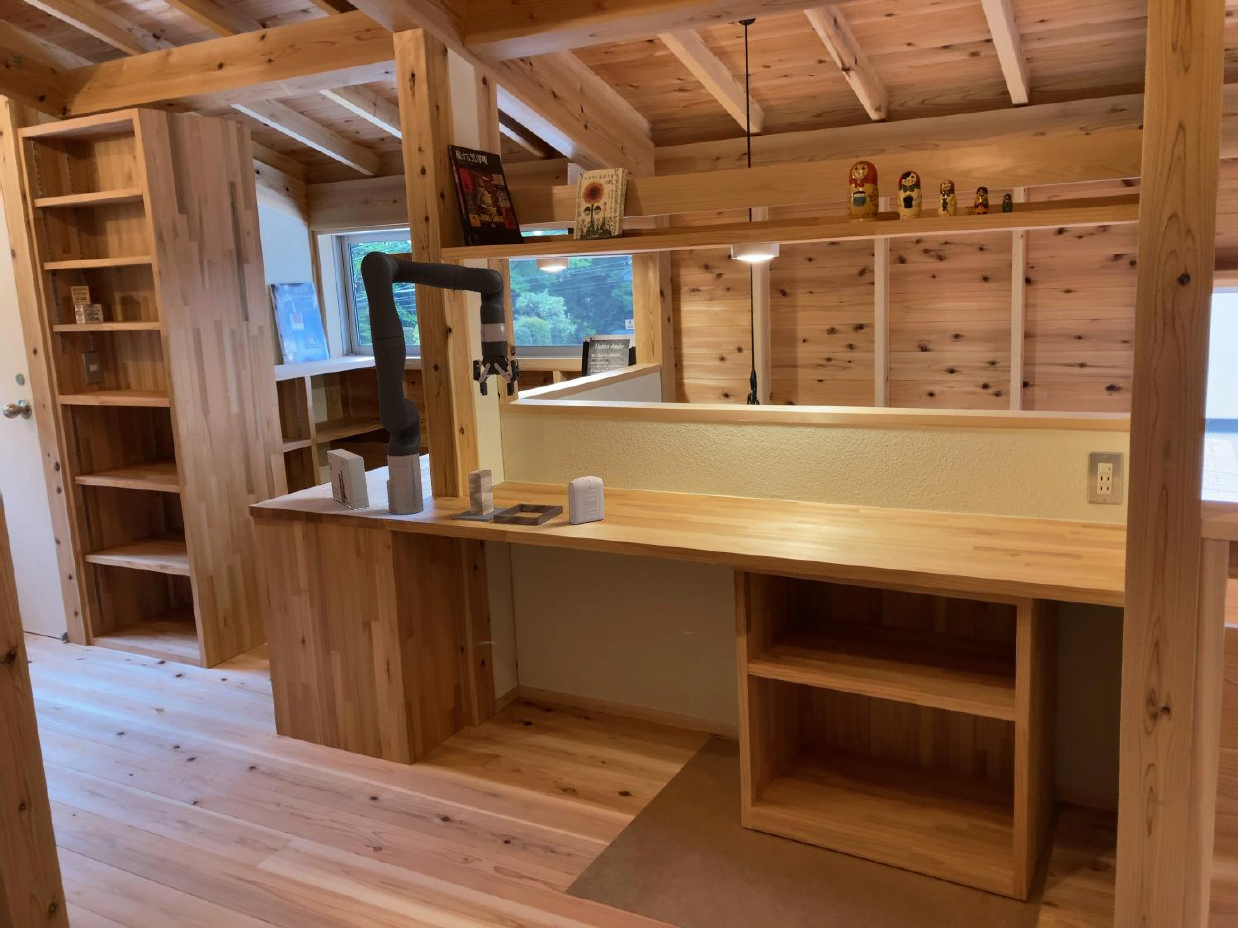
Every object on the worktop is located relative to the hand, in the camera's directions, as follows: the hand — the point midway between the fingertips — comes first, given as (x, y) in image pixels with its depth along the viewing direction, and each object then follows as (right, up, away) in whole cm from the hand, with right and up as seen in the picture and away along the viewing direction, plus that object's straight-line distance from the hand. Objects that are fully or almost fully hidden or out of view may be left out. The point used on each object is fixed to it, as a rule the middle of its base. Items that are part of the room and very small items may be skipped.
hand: (497, 395), depth 279 cm
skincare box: (-48, -33, +19) cm, 61 cm away
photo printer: (+27, -36, -16) cm, 47 cm away
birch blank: (-4, -34, -4) cm, 34 cm away
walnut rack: (+10, -35, -9) cm, 38 cm away
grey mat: (-4, -35, -4) cm, 35 cm away
